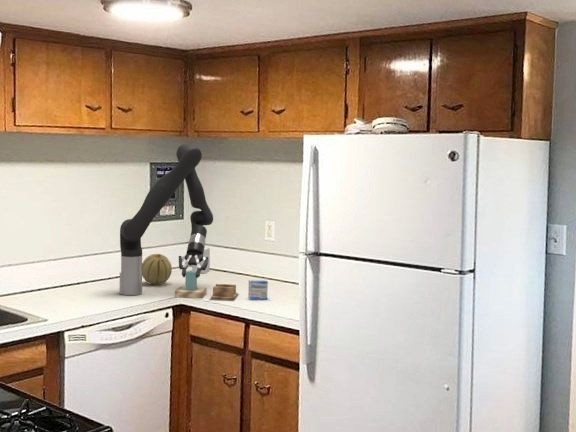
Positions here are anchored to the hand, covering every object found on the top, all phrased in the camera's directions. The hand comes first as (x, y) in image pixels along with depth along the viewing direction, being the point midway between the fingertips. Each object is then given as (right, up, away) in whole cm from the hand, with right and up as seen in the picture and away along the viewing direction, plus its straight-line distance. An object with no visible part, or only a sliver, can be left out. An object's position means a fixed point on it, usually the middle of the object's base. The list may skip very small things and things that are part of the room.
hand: (190, 276), depth 336 cm
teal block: (0, -6, +2) cm, 7 cm away
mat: (+15, -10, +2) cm, 18 cm away
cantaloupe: (-20, -6, +28) cm, 35 cm away
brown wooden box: (+15, -9, +1) cm, 18 cm away
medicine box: (+30, -10, -1) cm, 31 cm away
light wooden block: (0, -9, +3) cm, 9 cm away
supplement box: (-3, -3, +65) cm, 65 cm away
